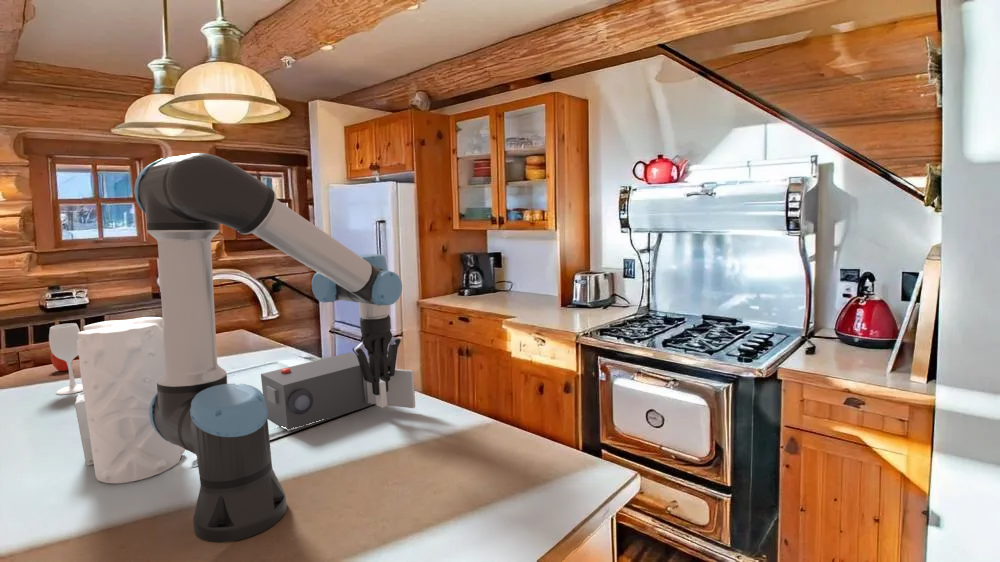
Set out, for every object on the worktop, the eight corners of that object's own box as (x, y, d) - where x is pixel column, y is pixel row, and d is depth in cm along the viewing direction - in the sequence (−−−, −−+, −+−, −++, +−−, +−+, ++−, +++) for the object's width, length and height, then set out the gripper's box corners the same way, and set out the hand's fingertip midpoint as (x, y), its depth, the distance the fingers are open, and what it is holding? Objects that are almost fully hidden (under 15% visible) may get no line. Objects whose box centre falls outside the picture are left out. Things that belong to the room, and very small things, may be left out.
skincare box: (117, 459, 125) (107, 396, 123) (84, 467, 122) (74, 402, 120) (117, 446, 132) (108, 386, 130) (86, 453, 129) (76, 392, 127)
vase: (83, 493, 111) (59, 337, 106) (102, 460, 125) (81, 321, 121) (181, 473, 118) (162, 325, 113) (188, 444, 132) (171, 312, 128)
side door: (367, 400, 153) (364, 365, 151) (416, 406, 147) (414, 369, 146) (364, 402, 151) (361, 367, 150) (413, 408, 146) (411, 371, 144)
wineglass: (76, 394, 172) (66, 328, 169) (49, 395, 172) (38, 329, 169) (97, 385, 180) (87, 322, 177) (70, 386, 181) (60, 322, 178)
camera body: (383, 404, 154) (379, 359, 152) (289, 435, 135) (284, 384, 133) (353, 391, 165) (349, 349, 163) (263, 418, 147) (258, 371, 145)
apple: (48, 373, 196) (44, 352, 195) (64, 367, 203) (61, 347, 201) (63, 373, 195) (60, 352, 194) (79, 368, 201) (76, 348, 200)
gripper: (388, 309, 147) (394, 395, 150) (343, 318, 138) (351, 409, 141) (405, 313, 141) (411, 401, 145) (359, 322, 132) (367, 416, 136)
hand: (381, 405), depth 143 cm, fingers closed
